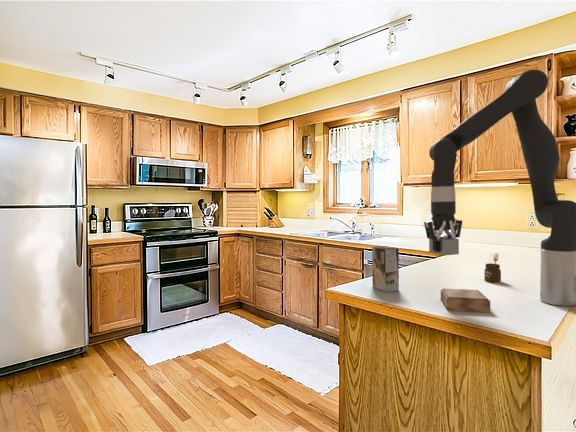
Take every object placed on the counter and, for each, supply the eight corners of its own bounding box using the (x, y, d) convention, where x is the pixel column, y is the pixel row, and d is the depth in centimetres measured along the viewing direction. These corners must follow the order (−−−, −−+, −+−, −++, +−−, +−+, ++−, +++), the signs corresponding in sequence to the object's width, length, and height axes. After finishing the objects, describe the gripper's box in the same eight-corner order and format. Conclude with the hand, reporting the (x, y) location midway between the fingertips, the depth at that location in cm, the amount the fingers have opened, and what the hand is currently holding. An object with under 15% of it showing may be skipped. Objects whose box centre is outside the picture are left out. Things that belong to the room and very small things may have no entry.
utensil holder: (496, 279, 149) (496, 251, 149) (504, 283, 143) (504, 253, 142) (481, 279, 150) (481, 251, 149) (488, 283, 143) (488, 253, 143)
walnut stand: (479, 301, 118) (479, 289, 117) (490, 312, 106) (490, 299, 106) (440, 299, 121) (440, 288, 120) (446, 310, 109) (447, 297, 109)
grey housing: (458, 254, 116) (458, 236, 115) (446, 255, 114) (446, 237, 114) (441, 251, 123) (441, 234, 123) (429, 252, 122) (429, 235, 121)
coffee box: (399, 290, 134) (399, 248, 133) (385, 292, 131) (385, 249, 131) (385, 285, 142) (384, 245, 142) (371, 287, 140) (371, 246, 139)
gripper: (433, 200, 112) (433, 254, 113) (469, 199, 116) (469, 251, 117) (417, 201, 119) (418, 251, 120) (452, 200, 124) (452, 248, 124)
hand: (443, 251), depth 119 cm, fingers closed on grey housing, 5 cm apart
